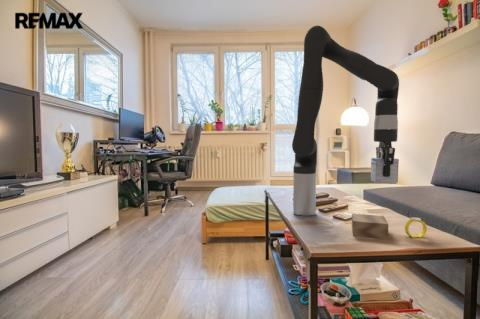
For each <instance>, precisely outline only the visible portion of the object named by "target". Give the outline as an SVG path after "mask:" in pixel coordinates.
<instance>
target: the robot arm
mask: <svg viewBox="0 0 480 319" xmlns="http://www.w3.org/2000/svg"><path fill="white" fill-rule="evenodd" d="M323 58H324V59H327V60H328V61H329V60H330V61H332V63H333V62H334V63H335V64H337V65H338V66H340V67H341V68H343V69H345V70H346V71H347V72H349V73H351V75H353V76H356V77H357V78H359V79H360V80H362V81H366V82H368V83H369V84H371V86H373V87H375V88H377V96H376V97H377V100H376V102H375V115H374V124H373V142H374V143H378V146H376V147H375V153H376V154H375V155H376V156H375V158H381V159H382V160H383V176H384V177H389V176H390V166H391V165H393V162H394V158H395V154H396V148H395V147H393V144H392V143H396V142H398V130H399V128H398V127H399V120H398V112H399V111H398V110H399V109H398V107H399V104H398V98H399V97H398V96H399V89H400V79H399V76H398V74H397V73H396V72H395V71H394V70H392V69H390V68H388V67H386V66H383V65H381V64H378V63H377V62H375V61H374V60H372V59H370V58H368V57H366V56H364V55H363V54H361V53H359V52H356V51H354V50H350V49H349V48H345V47H344V46H342V45H340V44H339V43H338V42H336V41H335V40H334V39H333V38H332V37H331V35H330V33H329V32H328V31H327V29H325V28H324V27H323V26H321V25H314V26H312V27H310V28H309V29H308V30H307V32H306V33H305V36H304V40H303V66H302V72H301V79H300V85H299V92H298V99H297V100H298V102H297V114H296V115H297V116H296V117H297V118H296V126H295V128H294V129H295V131H294V134H293V138H292V144H291V148H292V151H293V152H294V164H293V169H292V170H293V188H292V189H293V191H292V192H293V193H292V196H293V199H292V200H293V201H292V202H293V205H292V206H293V210H292V211H293V213H292V214H293V215H297V216H308V217H310V216H314V215H316V213H317V212H316V210H317V208H316V206H317V201H316V200H317V163H318V162H317V161H318V144H317V141H316V138H315V128H316V122H317V118H318V115H319V112H320V109H321V105H322V101H323V93H324V76H323V66H322V65H323V63H322V62H323ZM387 160H389V161H387Z"/></svg>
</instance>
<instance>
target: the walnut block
mask: <svg viewBox="0 0 480 319" xmlns="http://www.w3.org/2000/svg"><path fill="white" fill-rule="evenodd" d="M351 232H352V236H353V237H362V238H371V239H372V238H373V239H382V240H389V223H388V221H387V219H386V218H385V216H384V215H379V214H377V215H375V214H365V213H364V214H363V213H362V214H361V213H351Z"/></svg>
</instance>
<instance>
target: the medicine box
mask: <svg viewBox="0 0 480 319" xmlns="http://www.w3.org/2000/svg"><path fill="white" fill-rule="evenodd" d="M370 160H371V161H370V162H371V163H370V164H371V165H370V181H371V182H373V183H383V184H384V183H386V184H387V183H388V184H389V183H392V184H394V183H395V184H396V183H397V184H398V182H399V159H398V158H395V157H394V162H393V165H391V166H390V176H389V177H384V176H383V160H382V159H381V158H376V157H372V158H370ZM387 161H389V160H387Z"/></svg>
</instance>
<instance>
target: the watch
mask: <svg viewBox="0 0 480 319" xmlns="http://www.w3.org/2000/svg"><path fill="white" fill-rule="evenodd" d="M413 222H415V223H421V225H422V231H421V232H420V233H419V234H417V235H416V234H415V235H413V234H410V231H409V227H410V225H411V224H412V223H413ZM427 230H428V228H427V224H426V222H424V220H423V221H422V218H420V217H410V219H408V221H406V223H405V225H404V232H405V234H407V235H408V236H409V237H410V238H423V237H424V236H425V235H426V233H427Z"/></svg>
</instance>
